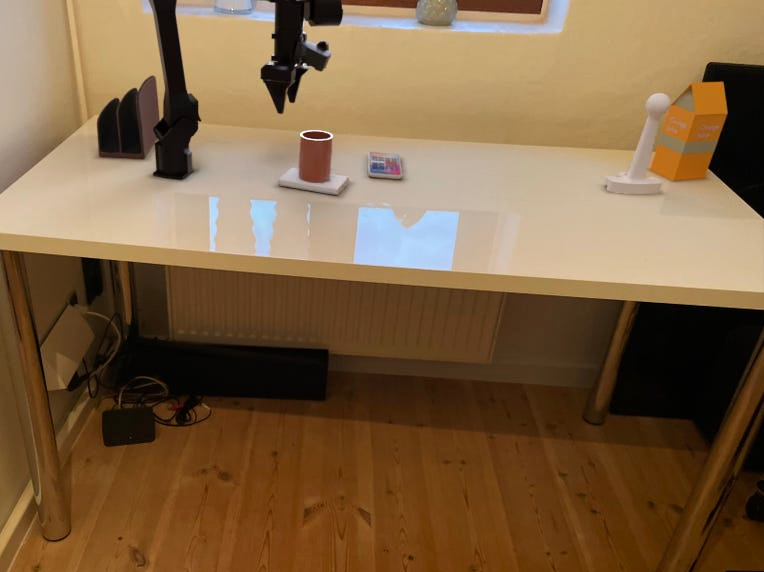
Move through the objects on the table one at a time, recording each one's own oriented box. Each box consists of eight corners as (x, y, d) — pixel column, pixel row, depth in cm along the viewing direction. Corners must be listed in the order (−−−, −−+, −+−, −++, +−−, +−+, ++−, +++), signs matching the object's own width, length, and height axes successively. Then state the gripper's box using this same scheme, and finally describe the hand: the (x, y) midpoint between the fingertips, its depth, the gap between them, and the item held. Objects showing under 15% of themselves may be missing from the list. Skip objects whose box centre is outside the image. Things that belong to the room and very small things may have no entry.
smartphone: (400, 153, 167) (403, 176, 154) (399, 158, 167) (402, 180, 155) (367, 151, 167) (367, 173, 154) (367, 155, 167) (367, 177, 155)
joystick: (610, 193, 154) (639, 95, 143) (597, 181, 160) (623, 85, 149) (661, 194, 155) (693, 97, 144) (646, 182, 161) (675, 87, 150)
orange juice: (649, 169, 169) (677, 78, 158) (680, 167, 171) (710, 77, 160) (673, 181, 162) (704, 87, 151) (705, 178, 165) (738, 86, 154)
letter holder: (161, 133, 175) (157, 70, 167) (144, 159, 158) (140, 92, 150) (119, 130, 175) (113, 68, 167) (98, 157, 158) (91, 89, 150)
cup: (294, 180, 147) (296, 137, 143) (302, 170, 153) (304, 128, 148) (326, 184, 146) (329, 141, 141) (333, 174, 151) (336, 132, 147)
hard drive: (292, 174, 155) (348, 183, 152) (278, 186, 148) (337, 196, 145) (292, 166, 154) (349, 175, 151) (278, 178, 148) (337, 188, 144)
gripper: (317, 38, 136) (313, 124, 144) (338, 23, 151) (333, 101, 160) (260, 33, 138) (259, 117, 146) (286, 18, 153) (284, 96, 162)
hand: (286, 108), depth 153 cm, fingers open, 9 cm apart
